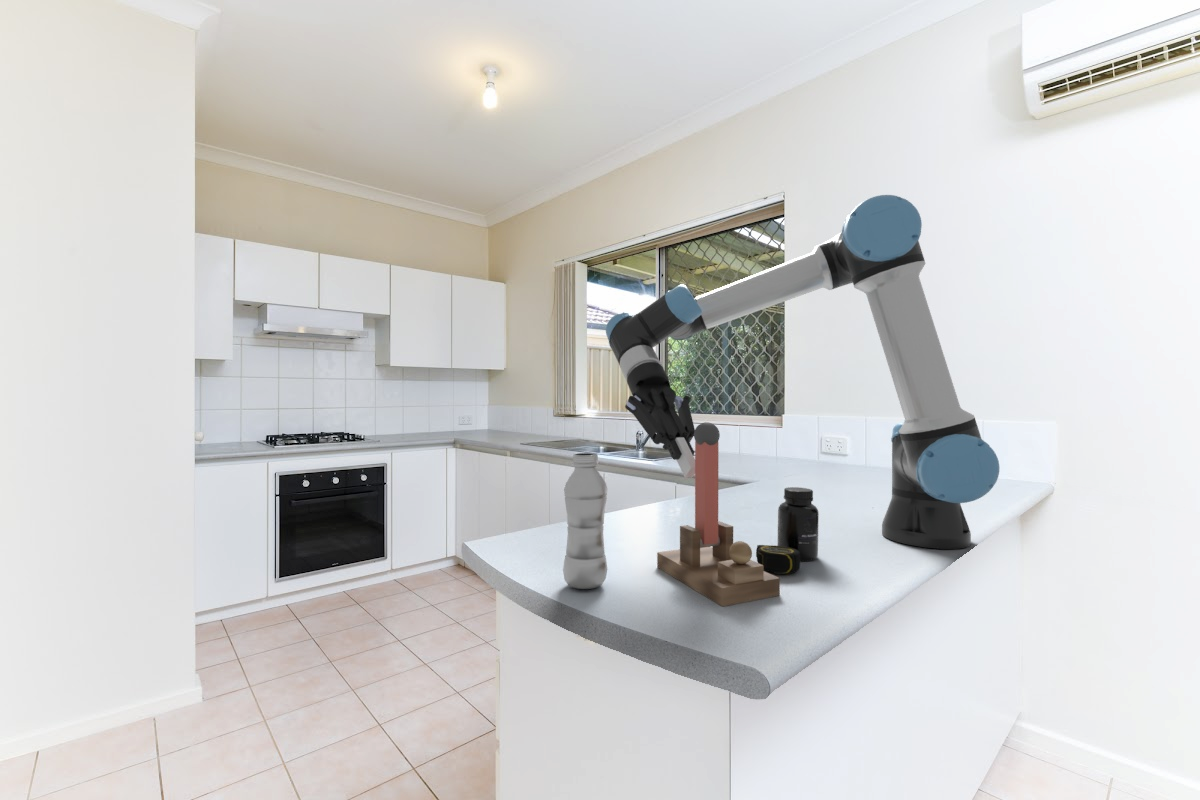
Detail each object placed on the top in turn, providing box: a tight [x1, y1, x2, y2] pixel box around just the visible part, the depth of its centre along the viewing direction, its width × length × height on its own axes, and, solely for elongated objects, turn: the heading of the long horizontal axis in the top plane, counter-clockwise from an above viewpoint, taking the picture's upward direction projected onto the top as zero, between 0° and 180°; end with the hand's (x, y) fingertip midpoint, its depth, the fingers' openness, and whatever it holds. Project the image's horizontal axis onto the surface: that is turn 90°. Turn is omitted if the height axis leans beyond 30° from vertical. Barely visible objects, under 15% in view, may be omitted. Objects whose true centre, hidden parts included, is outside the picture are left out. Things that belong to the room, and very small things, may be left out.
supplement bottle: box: [776, 486, 820, 562], centre depth 96 cm, size 7×7×12 cm
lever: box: [693, 422, 721, 548], centre depth 86 cm, size 4×4×20 cm
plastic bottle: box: [562, 452, 608, 590], centre depth 81 cm, size 6×7×20 cm
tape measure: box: [755, 544, 801, 575], centre depth 89 cm, size 7×7×4 cm
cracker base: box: [656, 520, 781, 607], centre depth 84 cm, size 18×10×8 cm, turn 23°
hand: (691, 472), depth 89 cm, fingers closed
